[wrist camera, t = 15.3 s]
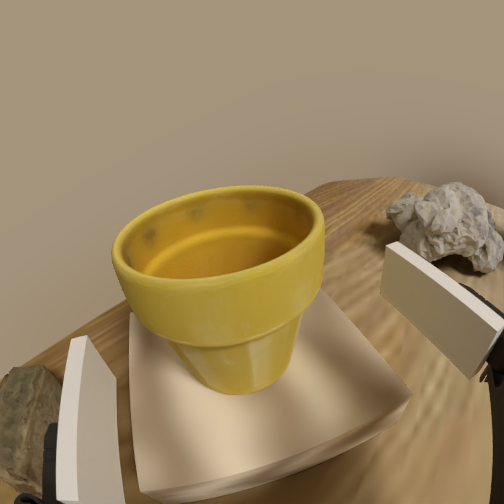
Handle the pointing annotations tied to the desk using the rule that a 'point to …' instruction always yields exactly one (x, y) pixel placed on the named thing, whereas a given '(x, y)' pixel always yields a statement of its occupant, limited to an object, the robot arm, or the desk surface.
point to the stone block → (26, 424)
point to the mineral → (448, 226)
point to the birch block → (257, 411)
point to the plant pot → (225, 279)
